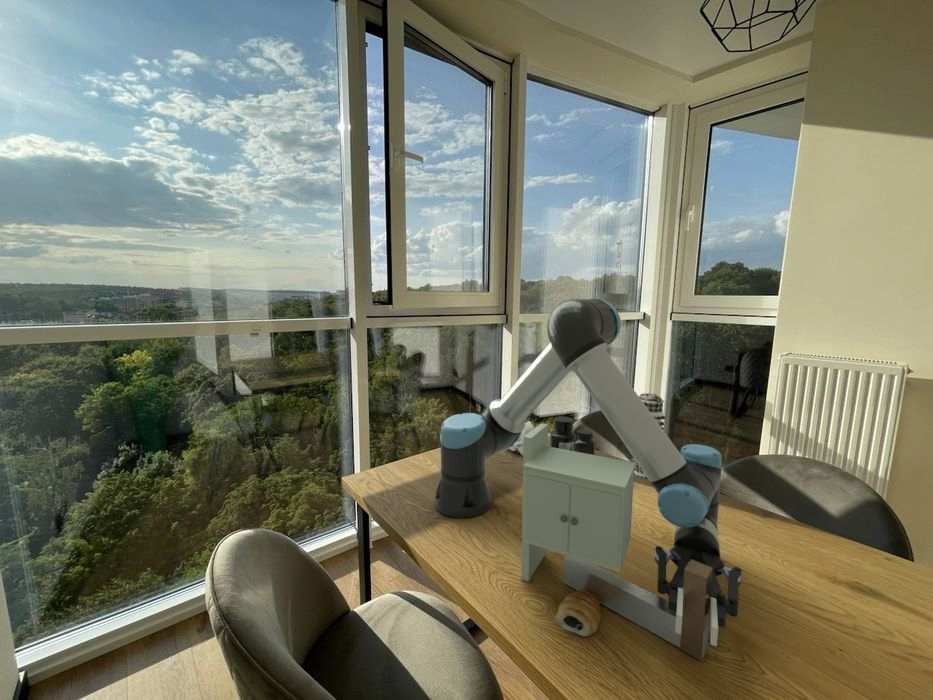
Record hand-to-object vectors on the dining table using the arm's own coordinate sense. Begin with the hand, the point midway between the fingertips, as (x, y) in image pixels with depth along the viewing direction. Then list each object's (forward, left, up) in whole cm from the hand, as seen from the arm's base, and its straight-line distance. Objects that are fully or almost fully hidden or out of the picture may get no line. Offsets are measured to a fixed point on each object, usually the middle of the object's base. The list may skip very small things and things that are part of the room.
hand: (696, 630), depth 58 cm
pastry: (-17, +4, -9) cm, 20 cm away
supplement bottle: (-33, +68, -9) cm, 76 cm away
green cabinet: (-20, +11, -8) cm, 24 cm away
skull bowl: (-56, +72, -9) cm, 91 cm away
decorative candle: (-15, +74, -9) cm, 76 cm away
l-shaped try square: (-10, +9, -8) cm, 16 cm away
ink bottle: (-43, +78, -9) cm, 90 cm away
